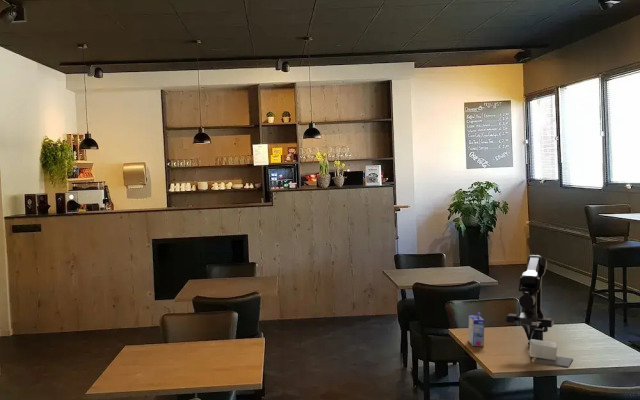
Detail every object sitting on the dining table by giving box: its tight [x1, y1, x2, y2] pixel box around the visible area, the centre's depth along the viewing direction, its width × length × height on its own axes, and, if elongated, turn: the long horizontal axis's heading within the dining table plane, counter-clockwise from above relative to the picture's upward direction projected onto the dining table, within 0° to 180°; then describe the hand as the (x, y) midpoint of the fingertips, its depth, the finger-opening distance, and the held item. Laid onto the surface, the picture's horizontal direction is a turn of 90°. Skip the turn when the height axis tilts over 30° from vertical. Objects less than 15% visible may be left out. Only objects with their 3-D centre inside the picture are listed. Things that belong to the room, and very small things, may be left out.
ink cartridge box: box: [467, 311, 485, 347], centre depth 276 cm, size 10×6×14 cm, turn 178°
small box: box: [529, 339, 558, 361], centre depth 253 cm, size 8×6×10 cm
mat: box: [531, 355, 574, 368], centre depth 249 cm, size 12×14×1 cm
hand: (529, 340), depth 254 cm, fingers closed
